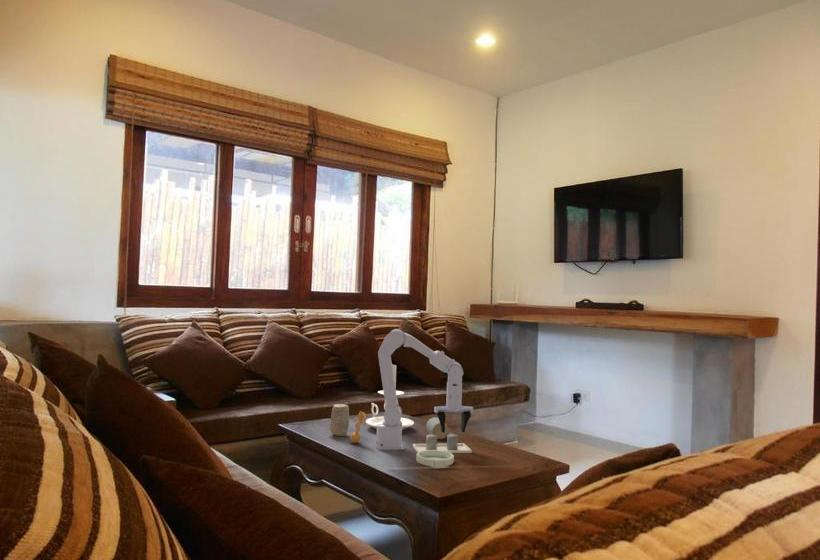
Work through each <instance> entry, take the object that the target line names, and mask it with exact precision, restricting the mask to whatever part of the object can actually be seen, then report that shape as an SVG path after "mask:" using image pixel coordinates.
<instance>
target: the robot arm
mask: <svg viewBox="0 0 820 560" xmlns="http://www.w3.org/2000/svg"><path fill="white" fill-rule="evenodd" d="M402 345H403V347H404V348H412V349H414V350H415V351H417V352H419V353H420V354H421V355H423V356H425V357H426V358H428V359H429V364H431V365H433V366H434V367H435V368H437V370H439V371H441V372H443V373H446V374H447V382H446V398H445V399H446V403H445V405H440V406H439V405H438V406H434V408H433V412H434V413H435V414H436V416H437V418H439V421H440V425H441V431H442V432H443V433H445V424H446V417H447V415H446V414H445V413H460V414H461V416H460V417H461V425H460V427H461V428H460V430H461V433H465V431H466V429H467V426H468V425H467V424H468V422H469V420H470V418H471V417H472V414H473V413H474V407H473V406H465V405H463V404H462V403H463V402H462V401H463V396H462V395H463V383H462V382H463V376H464V369H463V367H462V365H461V364H460V363H459V362H458V361H456V360H455V359H454V358H451V357H449V356H447V355H445V352H444V351H443V350H441V351H440V350H435V351H434V350H433V349H431V348H430V347H428V346H427V345H425V344H424V343H423V342H421V341H420V340H419V339H418V338H416V337H414V336H413V335H411V334H409V333H407V332H404V331H403V330H402V329H399V328H394V329H392V330H391V331H390V332H389V333H388V334H387V335H385V336H384V339H383V341H382V343H381V345H380V347H379V349H378V351H377V356H378V365H379V370H380V378H381V383H382V390H383V392H384V395H383V397H384V403H385V409H384V414H383V417H384V420H385V421H383V424H378V425H377V429H376V436H375V437H376V438H375V439H376V440H375V444H376V445H375V446H376V448H377V449H378V450H379V451H381V450H385V451H386V450H404V449H405V448H404V447H403V445H402V444H403V443H402V438H403V430H402V422H401V421H400V420H401V418H402V415H403V414H402V413H403V409H402V407H401V406H400V404H399V401H398V396H397V395H396V391H397V388H395V382H394V375H393V368H392V365H393V363H392V355H393V353H394V352H395V350H396V349H397V350H398V348H400V347H401V346H402Z"/></svg>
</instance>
